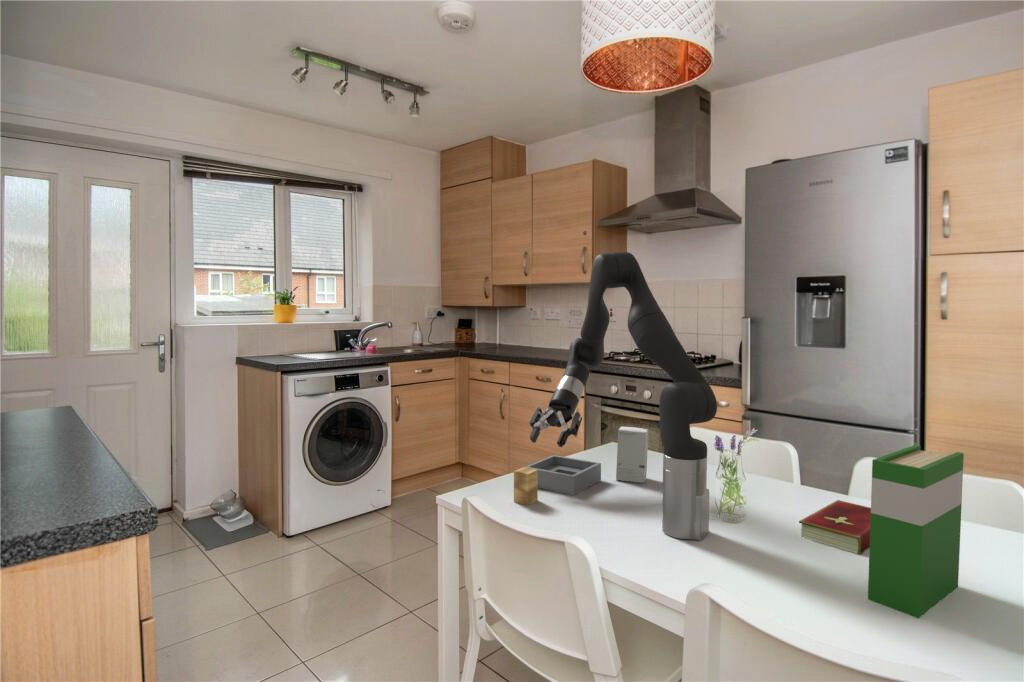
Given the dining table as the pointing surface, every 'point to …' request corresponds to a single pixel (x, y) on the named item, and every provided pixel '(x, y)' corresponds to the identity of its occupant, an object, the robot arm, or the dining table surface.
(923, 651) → the dining table surface
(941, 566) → the hardback book
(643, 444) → the skincare box
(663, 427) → the robot arm
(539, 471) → the walled box
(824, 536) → the hardcover book
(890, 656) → the dining table surface
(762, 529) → the dining table surface
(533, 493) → the block
